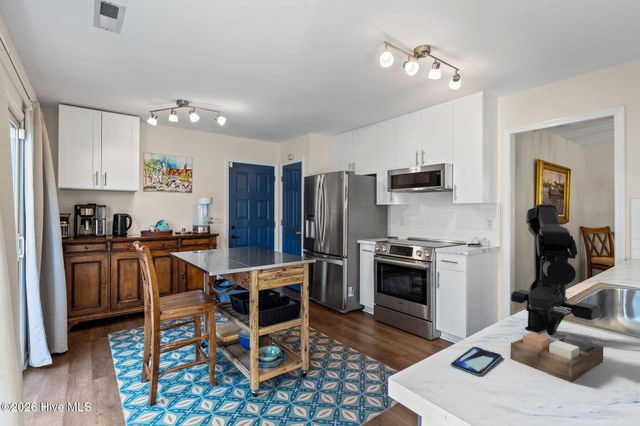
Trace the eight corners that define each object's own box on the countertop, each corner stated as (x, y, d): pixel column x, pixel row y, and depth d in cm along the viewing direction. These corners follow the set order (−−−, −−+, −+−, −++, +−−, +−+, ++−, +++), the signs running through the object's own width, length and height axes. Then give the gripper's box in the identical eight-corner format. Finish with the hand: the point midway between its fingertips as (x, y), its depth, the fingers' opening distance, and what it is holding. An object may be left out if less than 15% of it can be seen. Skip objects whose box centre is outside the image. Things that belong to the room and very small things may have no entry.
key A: (549, 356, 78) (549, 344, 78) (557, 352, 80) (557, 340, 80) (570, 363, 74) (571, 351, 74) (578, 359, 77) (579, 347, 77)
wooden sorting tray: (510, 358, 82) (510, 343, 82) (545, 343, 93) (545, 329, 93) (571, 382, 71) (571, 364, 71) (603, 362, 82) (603, 346, 82)
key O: (563, 349, 82) (564, 337, 82) (570, 345, 85) (571, 334, 85) (584, 356, 79) (585, 343, 79) (591, 352, 81) (592, 340, 81)
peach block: (522, 347, 83) (523, 335, 83) (531, 343, 85) (531, 332, 85) (541, 353, 79) (542, 341, 79) (549, 349, 82) (550, 338, 82)
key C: (537, 346, 87) (537, 335, 87) (545, 342, 90) (545, 332, 90) (556, 352, 84) (556, 341, 84) (563, 348, 86) (563, 337, 86)
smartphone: (448, 364, 78) (473, 345, 88) (448, 368, 78) (473, 349, 88) (480, 376, 73) (503, 355, 83) (480, 380, 73) (503, 358, 83)
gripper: (501, 273, 90) (499, 329, 90) (583, 288, 74) (580, 355, 74) (521, 270, 96) (519, 322, 96) (601, 283, 80) (599, 345, 80)
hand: (550, 335), depth 87 cm, fingers closed
